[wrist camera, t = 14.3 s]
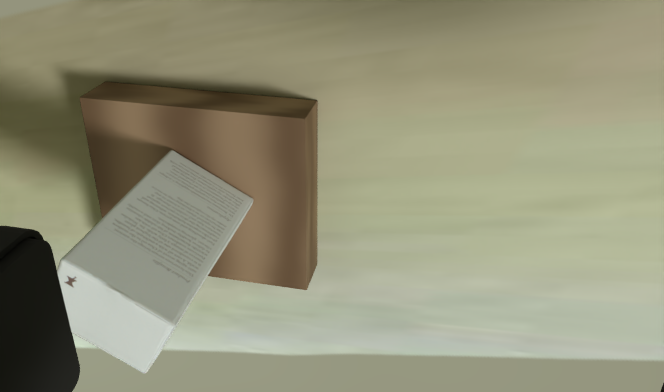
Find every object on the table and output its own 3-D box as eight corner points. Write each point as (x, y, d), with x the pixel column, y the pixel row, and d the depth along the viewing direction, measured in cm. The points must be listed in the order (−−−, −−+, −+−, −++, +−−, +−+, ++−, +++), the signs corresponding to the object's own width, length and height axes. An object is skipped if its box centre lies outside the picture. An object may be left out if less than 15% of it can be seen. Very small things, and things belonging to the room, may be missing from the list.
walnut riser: (317, 100, 38) (305, 118, 36) (317, 264, 44) (306, 290, 42) (105, 81, 41) (79, 97, 38) (131, 238, 47) (110, 261, 44)
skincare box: (148, 196, 41) (34, 314, 31) (172, 146, 39) (58, 255, 28) (230, 245, 41) (144, 378, 31) (258, 199, 39) (176, 325, 29)
